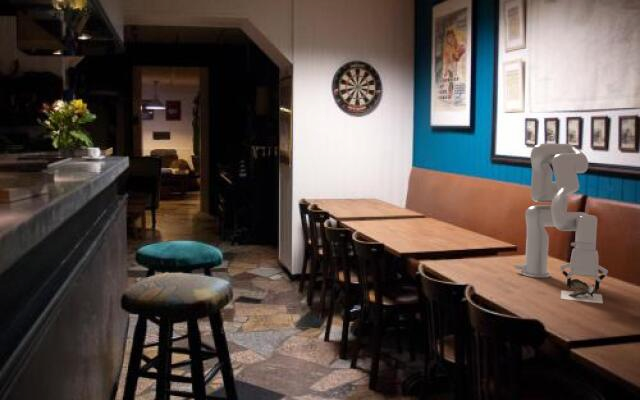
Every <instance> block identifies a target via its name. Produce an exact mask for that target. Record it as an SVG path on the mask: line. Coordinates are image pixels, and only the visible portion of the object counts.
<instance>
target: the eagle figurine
mask: <svg viewBox="0 0 640 400" xmlns="http://www.w3.org/2000/svg"><path fill="white" fill-rule="evenodd" d="M571 287H573V288H575V289H578V290H576V291H573V292H574V293H573V294H570V295H569V296H571V297H575V296H578V295H585V294H586V293H587V294H589V295H591V297H592V298H593V294H595V292H594V291H595V283H594V284H592V285H590V286H589V285H588V283H587V282H584V281H582V280H580V279H577V278H574V279H572V278H571Z"/></svg>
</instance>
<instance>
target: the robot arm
mask: <svg viewBox="0 0 640 400" xmlns="http://www.w3.org/2000/svg"><path fill="white" fill-rule="evenodd" d="M588 160H589V159H588V158H587V156H586V154H584V153H583V151H581V150H580V149H579V148H577V147H576V146H575V145H572V144H569V143H550V142H549V143H539V144H536V145H534V147H533V148H532V149H531V151H530V164H531V172H532V173H531V183H530V184H531V186H530V198H531V199H532V201H533V202H535V203H544V205H543V204H542V205H537V204H536V205H532V206H531V205H530V206H529V207H528V208H527V209H526V211H525V216H524V218H525V225H526V238H525V239H526V240H525V255H524V256H525V257H524V260H525V261H524V263H522V264H518V263H514V269H517V270H521V271H520V274H521V275H523V276H525V277H529V278H540V279H541V278H542V279H544V278H549V277H551V273H550V271H548V261H549V260H548V259H549V256H548V255H549V246H550V245H549V243H550V242H549V241H550V237H549V234H548V231H547V230H546V229H545V227H546V228H547V227H551V228H552V227H555V228H556V229H557V230H558V231H559V232H561V231H562V232H575V237H574V238H575V240H574V242H570V246H571V247H574V248H572V250H571V256H570V262H568V263H566V264H563V265H560V268H559V269H560V271H561V272H562V274H563V275H564V277H566V286H567V287H568V290H570V289H571V287H572V286H571V280H572V277H573V276H580V277H582V276H583V277H592V278H594V279H595V280H594V288H595V289H594V291H595V292H598V290H600V282H601V281H602V280H603V279H604V278H606V276H607V274H608V273H609V271H608V269H606V268H605V267H603V266H601V265H599V252H598V250H597V249H596V246H597V232H598V231H597V230H598V229H597V228H598V217H597V216H596V215H592V214H588V213H587V212H582V211H567V210H568V200H569V196H570V195H572V194H574V193H576V192H577V191H578V190H579V189H580V183H579V178H578V175H577V174H584V173H586V172H587V170H588V168H589V161H588ZM550 164H551V165H552V167H551V166H550ZM553 175H554V179H555V181H553ZM545 203H547V205H546V204H545ZM549 203H550V204H551V205H549ZM567 268H569V273H568V271H566V269H567ZM599 271H601V272H602V274H601V275H599Z"/></svg>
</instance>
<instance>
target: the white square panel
mask: <svg viewBox="0 0 640 400" xmlns="http://www.w3.org/2000/svg"><path fill="white" fill-rule="evenodd" d="M574 292H575V291H572V290H563V289H562V290H561V291H560V299H561V300H567V301H568V300H569V301H577V302H586V303H596V304H604V301H603V295H602V294H600V293H593V298H592V297H591V295H589V294H587V293H586V294H585V295H578V296H575V297H571V296H569V295H570V294H573V293H574Z"/></svg>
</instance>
